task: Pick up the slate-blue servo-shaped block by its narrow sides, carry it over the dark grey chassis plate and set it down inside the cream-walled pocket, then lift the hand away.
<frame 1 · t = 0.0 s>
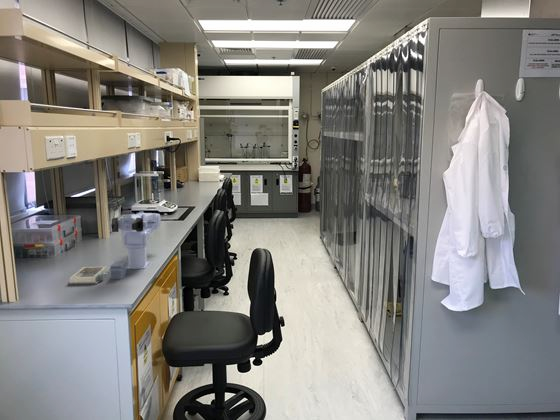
hand: (122, 226, 171), 22 cm above the table, fingers open, 7 cm apart
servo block: (119, 276, 179), on the table
chassis: (89, 278, 176), on the table
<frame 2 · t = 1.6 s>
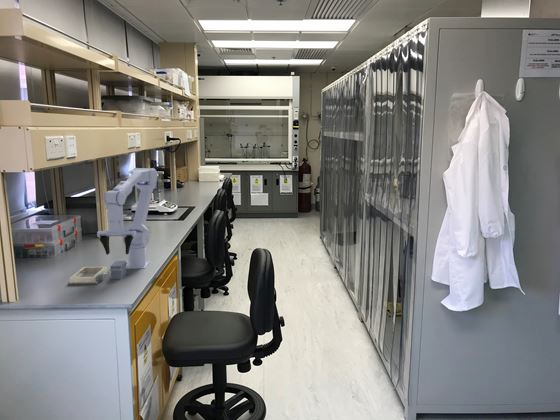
hand: (117, 253, 178), 9 cm above the table, fingers open, 7 cm apart
nothing on the table moved.
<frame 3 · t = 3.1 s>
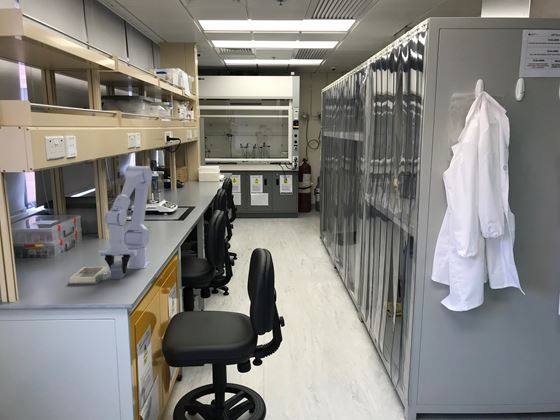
hand: (118, 272, 179), 1 cm above the table, fingers closed on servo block, 4 cm apart
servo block: (119, 276, 179), on the table, touching gripper
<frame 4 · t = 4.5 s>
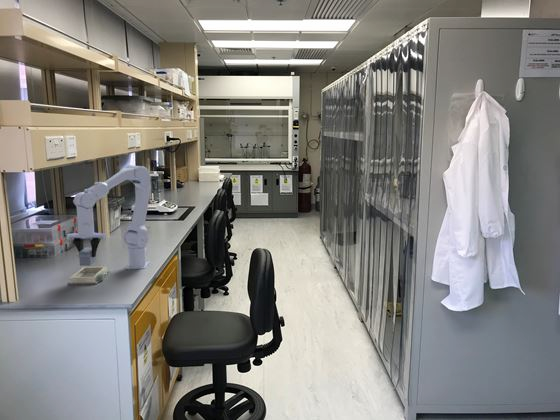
hand: (88, 256, 175), 9 cm above the table, fingers closed on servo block, 4 cm apart
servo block: (88, 263, 175), point 6 cm above the table, touching gripper
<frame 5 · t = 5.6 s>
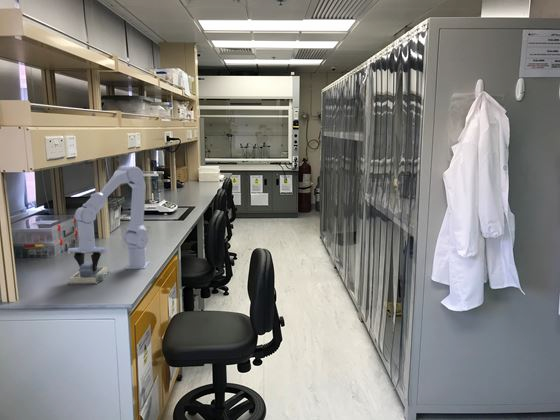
hand: (88, 270, 176), 3 cm above the table, fingers closed on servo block, 4 cm apart
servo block: (89, 277, 176), point 1 cm above the table, touching chassis, gripper
when the fingers open (3 cm above the table, at t = 6.1 s): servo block stays where it is, resting on chassis.
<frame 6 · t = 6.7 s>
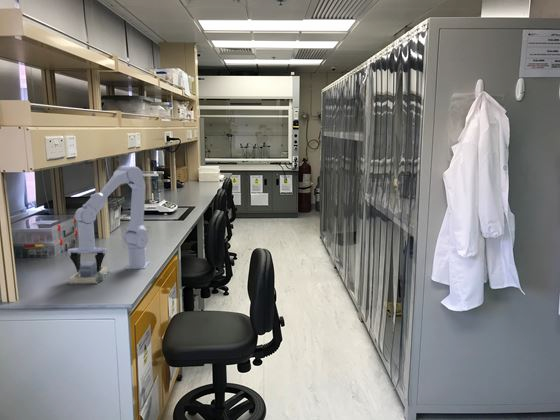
hand: (88, 271, 176), 3 cm above the table, fingers open, 7 cm apart
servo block: (89, 277, 176), point 1 cm above the table, touching chassis
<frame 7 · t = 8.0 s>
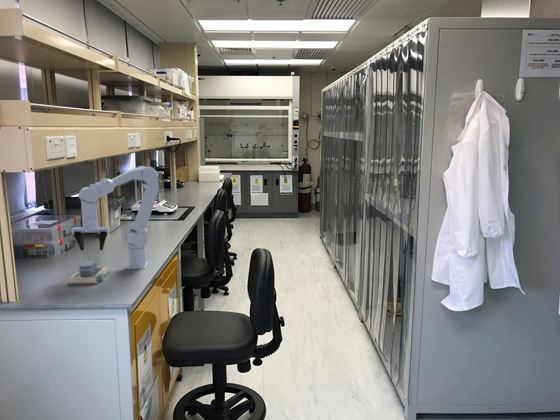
hand: (92, 249, 180), 10 cm above the table, fingers open, 7 cm apart
nothing on the table moved.
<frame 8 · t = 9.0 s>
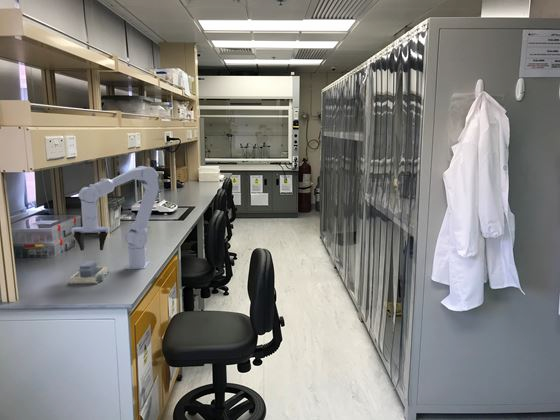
hand: (92, 249, 180), 10 cm above the table, fingers open, 7 cm apart
nothing on the table moved.
at the end: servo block 0.2 cm off-centre on the chassis, point 0.6 cm above the chassis's base; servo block tilted 0°; the gripper is holding nothing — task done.
